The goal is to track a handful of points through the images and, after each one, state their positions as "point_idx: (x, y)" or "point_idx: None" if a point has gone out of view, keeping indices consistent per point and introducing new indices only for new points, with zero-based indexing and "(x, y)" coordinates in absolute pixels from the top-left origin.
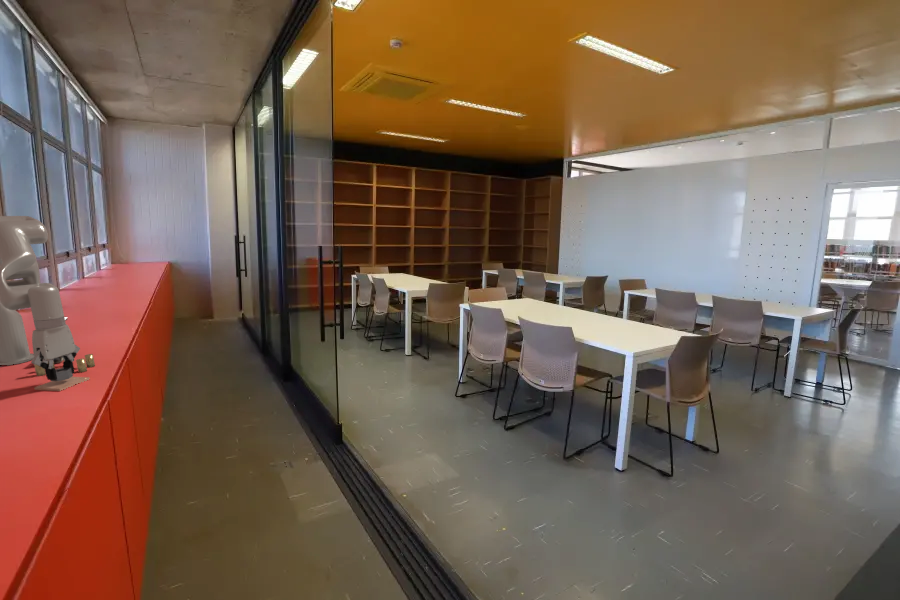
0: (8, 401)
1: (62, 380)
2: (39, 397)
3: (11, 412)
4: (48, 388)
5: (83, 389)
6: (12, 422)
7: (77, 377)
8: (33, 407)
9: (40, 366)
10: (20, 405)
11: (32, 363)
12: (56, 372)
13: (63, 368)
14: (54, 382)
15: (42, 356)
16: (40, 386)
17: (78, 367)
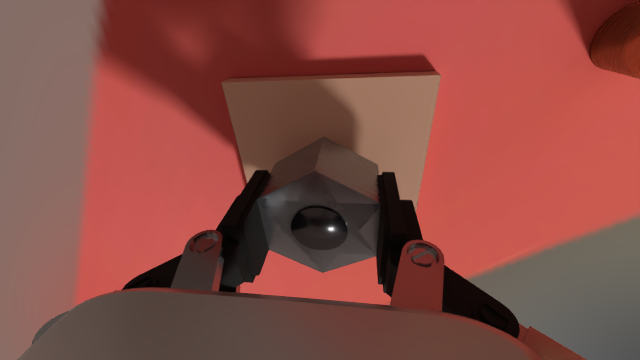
0: (95, 114)
1: (355, 143)
2: (191, 205)
3: (91, 232)
4: (247, 178)
5: (302, 282)
6: (87, 284)
7: (410, 184)
8: (146, 258)
9: (158, 272)
10: (122, 208)
11: (60, 316)
12: (272, 248)
13: (346, 231)
14: (317, 127)
15: (168, 305)
16: (245, 108)
17: (635, 42)
